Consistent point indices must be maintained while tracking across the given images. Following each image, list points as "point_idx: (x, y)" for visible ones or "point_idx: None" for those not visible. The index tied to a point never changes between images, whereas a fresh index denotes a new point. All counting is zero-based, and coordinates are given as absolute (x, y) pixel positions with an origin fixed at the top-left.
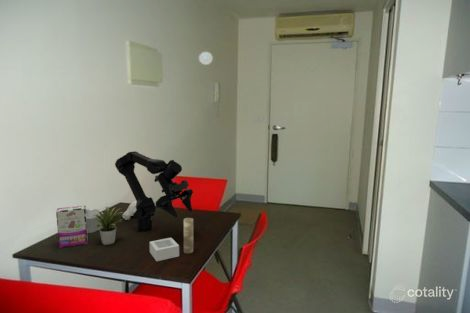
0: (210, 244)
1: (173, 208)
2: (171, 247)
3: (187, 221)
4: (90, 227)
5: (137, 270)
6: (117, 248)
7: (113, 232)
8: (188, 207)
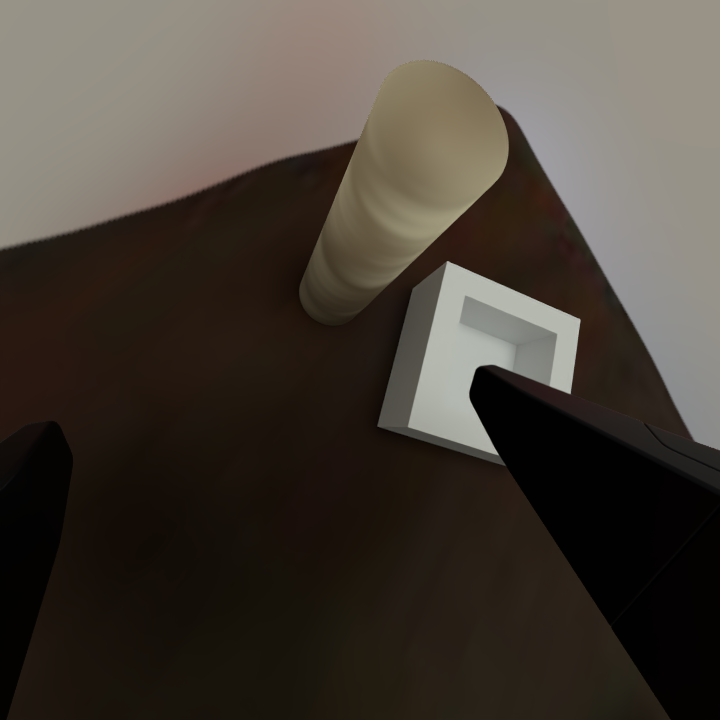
0: (128, 251)
1: (640, 439)
2: (494, 283)
3: (488, 102)
4: None
5: (617, 329)
6: (617, 654)
7: None
8: (14, 568)
